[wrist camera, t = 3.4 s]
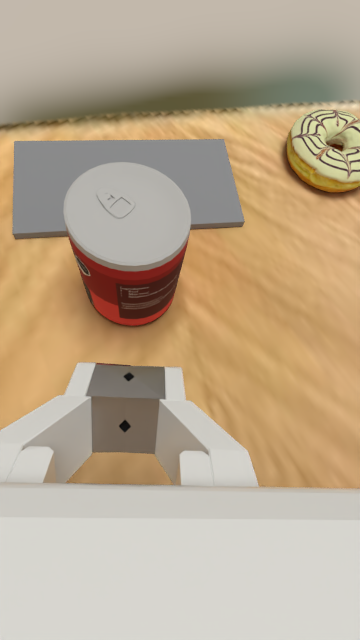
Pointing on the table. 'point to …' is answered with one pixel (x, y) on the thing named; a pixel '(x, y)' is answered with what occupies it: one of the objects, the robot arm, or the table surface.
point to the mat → (80, 156)
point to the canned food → (128, 239)
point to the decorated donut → (326, 150)
